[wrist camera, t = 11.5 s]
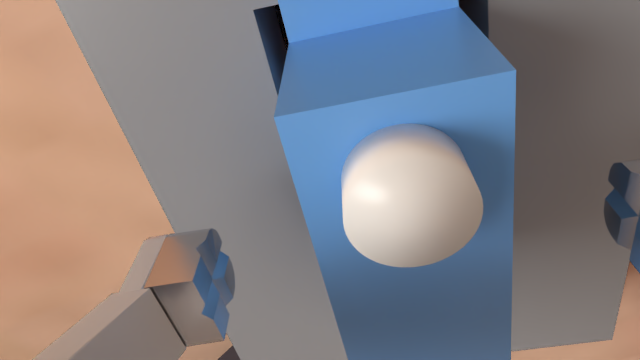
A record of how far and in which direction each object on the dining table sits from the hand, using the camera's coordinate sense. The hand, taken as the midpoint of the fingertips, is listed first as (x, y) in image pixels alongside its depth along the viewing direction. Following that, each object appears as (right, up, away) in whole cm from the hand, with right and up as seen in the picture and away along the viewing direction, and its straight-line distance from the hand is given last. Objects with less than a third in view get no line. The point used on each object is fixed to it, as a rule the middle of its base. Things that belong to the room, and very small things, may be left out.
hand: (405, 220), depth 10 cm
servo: (0, +3, +5) cm, 6 cm away
